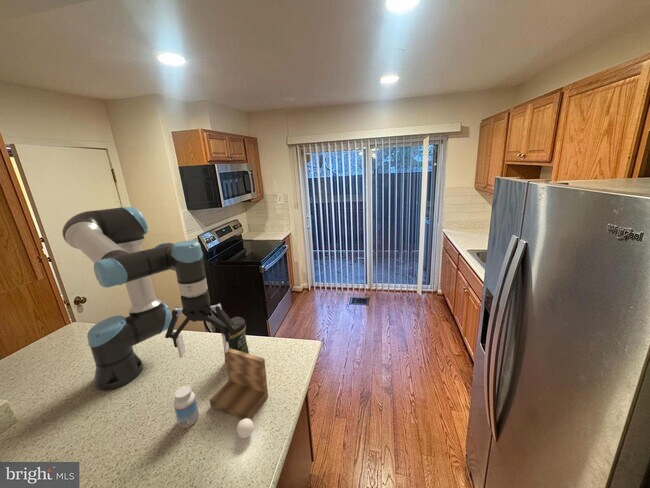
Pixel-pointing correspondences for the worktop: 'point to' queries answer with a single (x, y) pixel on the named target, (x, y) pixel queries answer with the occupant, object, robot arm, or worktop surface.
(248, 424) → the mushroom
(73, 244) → the robot arm
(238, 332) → the coffee jar
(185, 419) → the pill bottle
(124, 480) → the worktop surface
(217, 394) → the brown piece
